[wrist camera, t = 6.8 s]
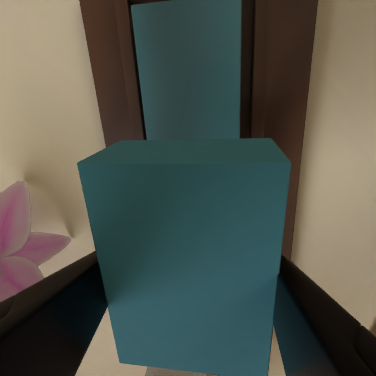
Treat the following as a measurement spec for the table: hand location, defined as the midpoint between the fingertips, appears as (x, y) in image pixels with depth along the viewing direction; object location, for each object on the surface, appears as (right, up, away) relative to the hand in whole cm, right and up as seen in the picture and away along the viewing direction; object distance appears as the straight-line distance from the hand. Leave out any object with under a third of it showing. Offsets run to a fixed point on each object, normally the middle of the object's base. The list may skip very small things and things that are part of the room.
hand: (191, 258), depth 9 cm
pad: (0, +1, +1) cm, 2 cm away
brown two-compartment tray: (+1, +5, +10) cm, 11 cm away
